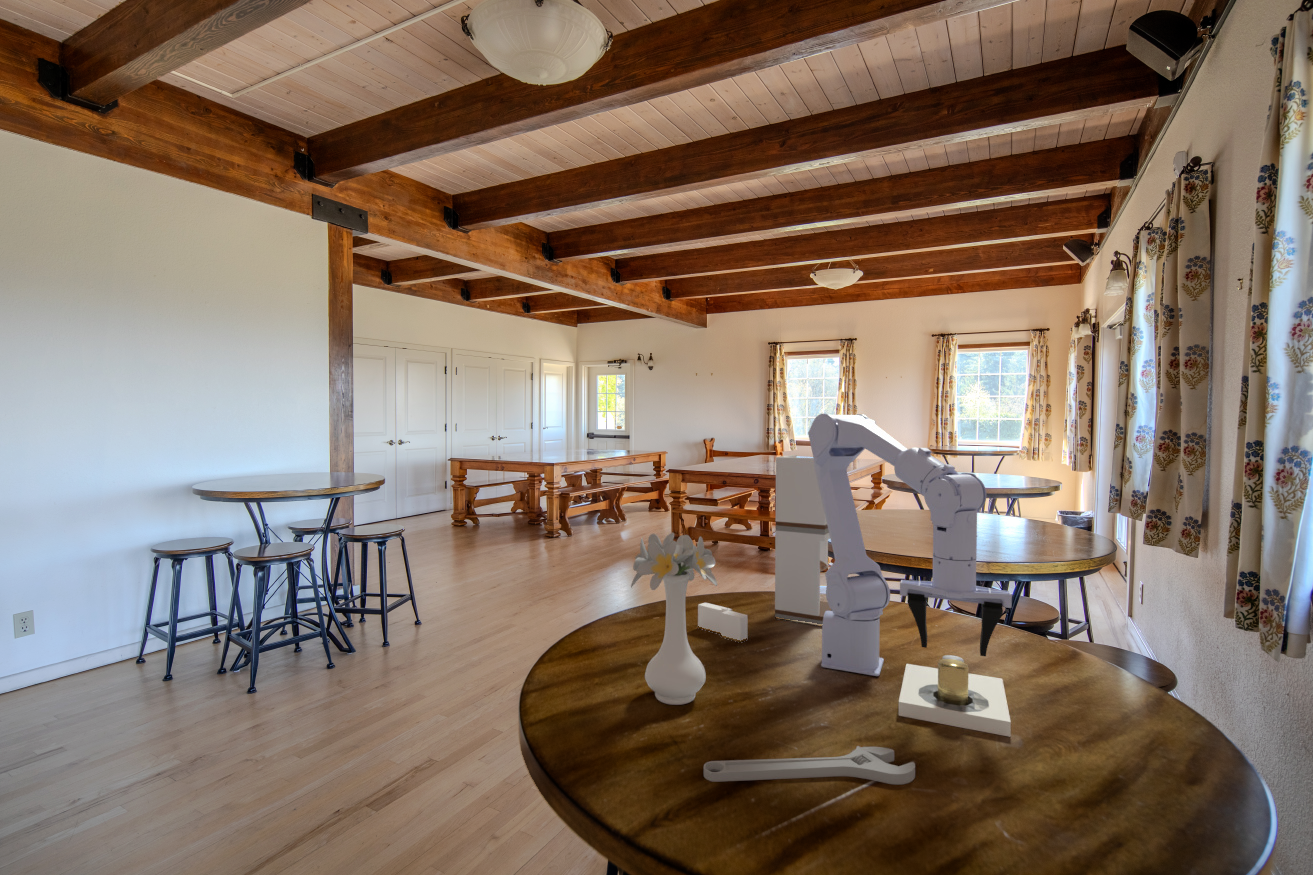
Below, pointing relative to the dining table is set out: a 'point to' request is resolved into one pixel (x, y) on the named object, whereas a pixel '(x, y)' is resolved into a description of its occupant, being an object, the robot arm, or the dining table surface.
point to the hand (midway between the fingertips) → (953, 649)
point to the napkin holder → (723, 621)
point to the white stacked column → (799, 541)
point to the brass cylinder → (953, 682)
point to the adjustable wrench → (816, 767)
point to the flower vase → (674, 614)
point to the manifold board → (980, 713)
